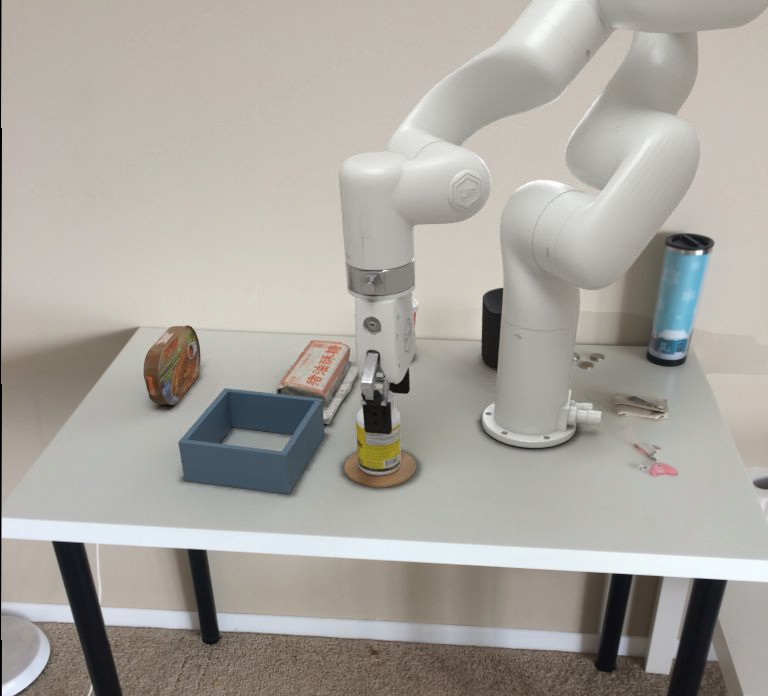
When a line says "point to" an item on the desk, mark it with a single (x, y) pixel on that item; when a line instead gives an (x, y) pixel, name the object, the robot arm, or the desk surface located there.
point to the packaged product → (321, 375)
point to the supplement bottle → (379, 444)
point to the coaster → (380, 481)
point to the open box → (250, 464)
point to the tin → (172, 365)
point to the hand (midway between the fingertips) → (388, 411)
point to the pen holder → (491, 326)
